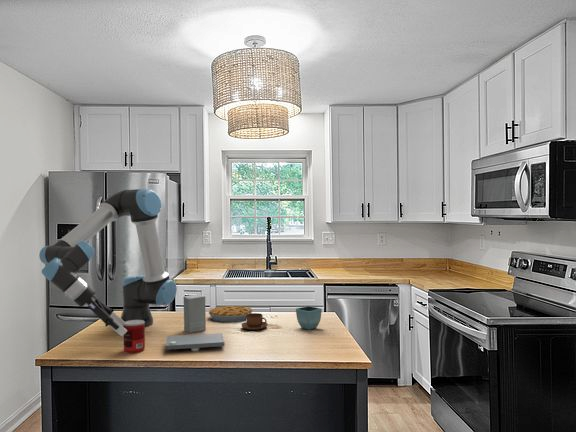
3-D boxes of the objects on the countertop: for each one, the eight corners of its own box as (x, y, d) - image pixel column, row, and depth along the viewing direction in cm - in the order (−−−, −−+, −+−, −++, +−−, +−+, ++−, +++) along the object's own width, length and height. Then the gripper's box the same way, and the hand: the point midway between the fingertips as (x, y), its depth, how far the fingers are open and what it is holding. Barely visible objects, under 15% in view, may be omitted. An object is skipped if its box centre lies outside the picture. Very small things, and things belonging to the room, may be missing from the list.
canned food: (147, 347, 186) (146, 319, 186) (141, 353, 178) (141, 324, 178) (127, 347, 185) (127, 319, 185) (121, 353, 177) (120, 324, 177)
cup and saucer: (269, 325, 221) (269, 312, 221) (265, 331, 209) (265, 318, 209) (244, 325, 223) (244, 311, 223) (239, 331, 211) (238, 317, 211)
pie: (240, 324, 224) (240, 314, 224) (200, 321, 231) (200, 310, 231) (259, 315, 244) (259, 305, 244) (221, 312, 252) (221, 302, 252)
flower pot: (308, 331, 209) (308, 311, 209) (295, 328, 215) (295, 308, 215) (322, 328, 215) (322, 308, 215) (309, 324, 221) (309, 305, 221)
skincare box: (200, 327, 217) (200, 293, 217) (206, 331, 211) (206, 295, 211) (182, 330, 212) (182, 295, 212) (188, 333, 206) (188, 297, 206)
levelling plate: (167, 343, 191) (167, 335, 191) (222, 340, 195) (222, 332, 195) (165, 353, 177) (165, 344, 177) (224, 349, 182) (224, 341, 182)
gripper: (74, 294, 185) (115, 329, 190) (70, 306, 161) (117, 345, 167) (89, 280, 186) (129, 315, 192) (87, 289, 163) (133, 329, 169)
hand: (124, 329), depth 179 cm, fingers open, 13 cm apart
